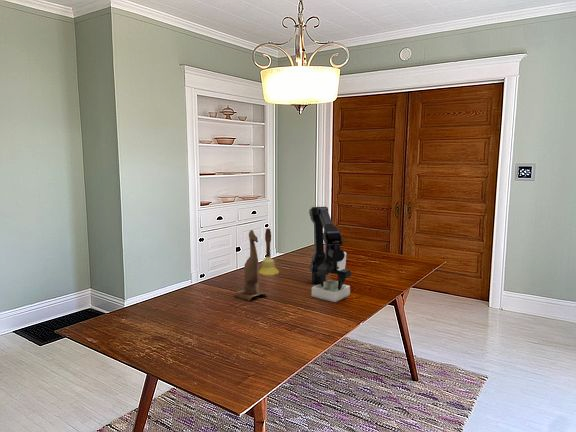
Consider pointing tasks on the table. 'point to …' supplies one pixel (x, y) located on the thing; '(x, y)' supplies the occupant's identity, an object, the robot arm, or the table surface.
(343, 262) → the white cup
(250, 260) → the bird sculpture
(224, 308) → the table surface
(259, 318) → the table surface
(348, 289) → the bin
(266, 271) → the handbell
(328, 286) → the mint block
